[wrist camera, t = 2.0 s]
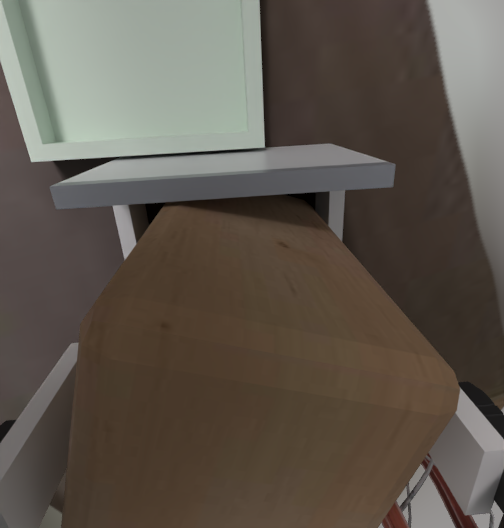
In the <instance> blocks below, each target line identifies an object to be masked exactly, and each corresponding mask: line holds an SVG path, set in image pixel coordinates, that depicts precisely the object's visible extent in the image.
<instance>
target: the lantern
mask: <svg viewBox="0 0 504 528" xmlns="http://www.w3.org/2000/svg"><path fill="white" fill-rule="evenodd" d="M421 465H422V466H423V467H424V469H425V472H424V474H423V475H422V477H421V479H420V480H419V482H418V483H417V485H416V486H415V487H414V489H413V490H412V491H411V493H409V482H408V484H407V485H406V486H407V498H406V500H405V501H404V502H403V503H402V505H401V506H400V507H399V506H398V504H397V502H396V501H395V503H394V504H393V506H392V507H391V509H390V510H389V512H388V513H387V515H386V516H385V518H384V519H383V521H382V525H383V527H384V528H411V506H410V501H411V500H412V499H413V497H414V496H415V495H416V493H417V492H418V490H419V489H420V488H421V486H422V485H423V483H424V481H425V480H426V478H427V476H428V475H429V476H430V478H431V480H432V482H433V483H434V485H435V487H436V489H437V490H438V493H439V494H440V496H441V498H442V500H443V502H444V505H445V507H446V509H447V511H448V513H449V515H450V517H451V519H452V521H453V523H454V525H455V527H456V528H478V527H477V525H476V523H475V521H474V519H473V517H472V516H471V515H465V514H464V513H463V511H462V509H461V508H460V506H459V504H458V502H457V501H456V499H455V497H454V496H453V494H452V492H451V490H450V489H449V487H448V485H447V484H446V482H445V480H444V479H443V477H442V475H441V473H440V472H439V470H438V468H437V467H436V465H435V463H434V461H433V460H432V458H431V456H430V455H429V453H428V454H427V455H426V457H425V458H424V460H423V461H422V463H421ZM407 505H408V512H409V520H408V524H407V521H406V520H405V517H404V515H403V513H402V512H403V511H404V509H405V508H406V507H407ZM493 527H494V515H493V512H492V510H491V511H490V525H489V528H493Z"/></svg>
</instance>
